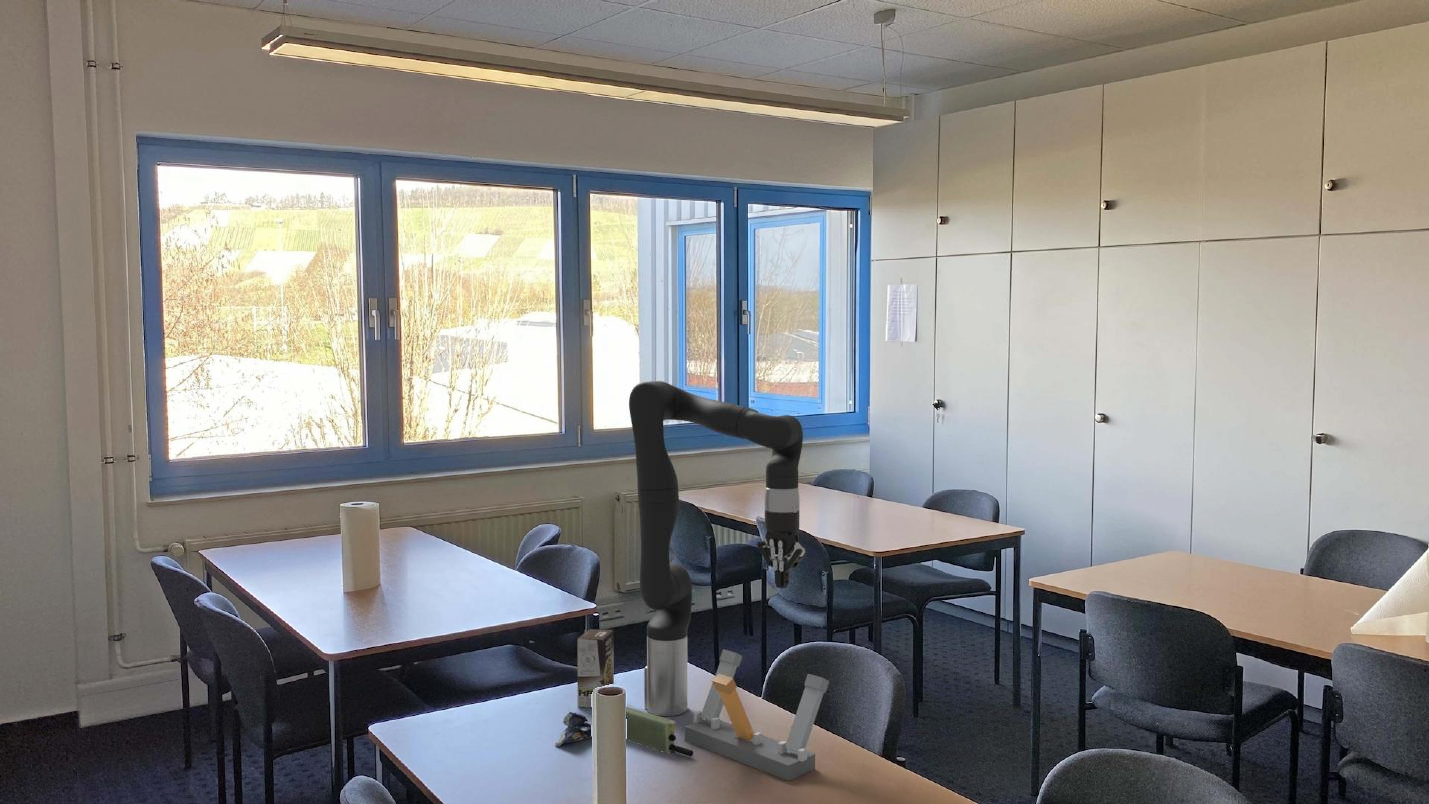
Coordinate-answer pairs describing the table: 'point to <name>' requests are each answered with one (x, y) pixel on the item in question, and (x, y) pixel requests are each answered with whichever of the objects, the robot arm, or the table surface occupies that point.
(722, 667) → the left paddle
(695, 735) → the pegged base beam
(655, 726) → the handheld radio
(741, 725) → the orange paddle
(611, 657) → the coffee box
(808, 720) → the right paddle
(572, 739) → the snack package
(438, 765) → the table surface
